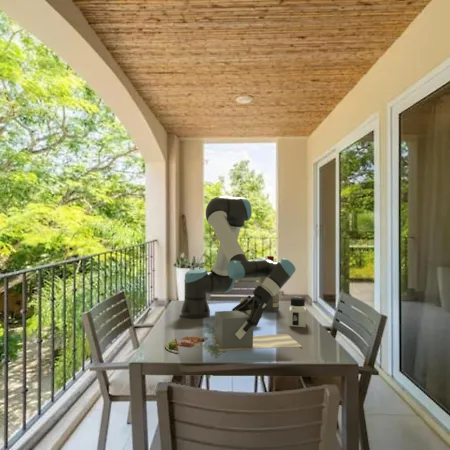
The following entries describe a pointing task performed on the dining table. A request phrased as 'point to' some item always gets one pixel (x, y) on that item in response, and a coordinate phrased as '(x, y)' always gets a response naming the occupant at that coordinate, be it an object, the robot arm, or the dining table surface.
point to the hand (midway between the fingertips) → (230, 332)
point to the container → (297, 312)
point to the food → (183, 343)
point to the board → (268, 342)
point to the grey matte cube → (232, 329)
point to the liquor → (274, 302)
